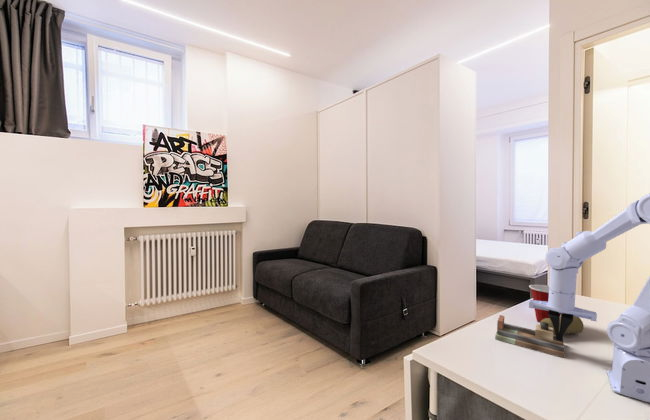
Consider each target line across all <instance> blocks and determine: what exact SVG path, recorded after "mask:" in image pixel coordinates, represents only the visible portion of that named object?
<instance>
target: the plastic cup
mask: <svg viewBox="0 0 650 420" xmlns="http://www.w3.org/2000/svg"><path fill="white" fill-rule="evenodd" d="M528 287H529V289H530V291H531V295H532V300H536V301H546V302H548V299H549V285H545V284H529V285H528ZM533 309H534V313H535V319H536V321H537V323H539V324H540V322H541V320H543V319H545V318H549V315H548V314H549V311H546V310H541V309H536V308H533ZM560 316H561V313H560Z"/></svg>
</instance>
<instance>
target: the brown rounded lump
mask: <svg viewBox="0 0 650 420" xmlns="http://www.w3.org/2000/svg"><path fill="white" fill-rule="evenodd" d="M541 322H546V323H548V324H549V327H551V328H553V335H556V334H555V330H554V327H553V324H552V322H551V320H550V318H545V319H543V320H541ZM541 322H540V323H539V325H541ZM560 325H561V316H560V321H559V332H560ZM584 327H585V325H584V323H583V321H582V318H580V317H576V316H573V322H572V323H571V324H570V325H569V327H568V328H567V330H566V331H565V333H564V335H565V334H581V333H582V332H583V331H584Z"/></svg>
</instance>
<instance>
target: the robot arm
mask: <svg viewBox="0 0 650 420" xmlns="http://www.w3.org/2000/svg"><path fill="white" fill-rule="evenodd" d="M644 224H645V225H646V224H649V225H650V192H649V193H647V194H644V196H642V197H641V198H640V199H637V200H635V201H632V202H631V203H630V204H629V205H628V206H627V207H626V208H625V209H623V210H622V211H620V212H619V213H618V214H616V215H615V216H614V217H612V218H611V219H610V220H608V221H606V222H605V223H603V224H602V225H601V226H599V227H598V228H596V229H595V230H593V231H592V230H584V231H577V232H576V233H575V236H574V237H573V238H572V239H570V240H569V241H567V242H566V241H565V242H562V243H561V244H560V245H561V246H560V247H551V248H549V250H547V252H546V253H545V261H546V263H547V265H548V266H549V281H548V283H549V285H548V286H549V299H548V302H546V301H536V300H533V299H528V308H529V309H534V308H536V309H541V310H546V311H549V314H548V315H549V318H550V320H551V322H552V324H553V327H554V330H555V334H556V339H557V340H561V341H562V339H563V337H564V335H565V334H566V333H565V331H566V330H567V328H568V327H569V325H570V324H571V323H572V322H573V316H576V317H579V318H580V319H587V320H590V321H592V322H597V317H598V315H597V312H596V311H592V310H588V309H584V308H579V307H577V306H575V305H576V293H577V292H576V290H577V277H578V276H577V275H578V273H579V269H580V268H581V267H582V266H583V264H584V262H585V261H587V260H588V259H590V258H592V257H594V256H595V255H597V254H599V253H601V252H602V251H605V249H607V242H609V241H611V240H613V239H615V238H617V237H619V236H620V235H622V234H623V235H624V234H625V233H627V232H629V231H630V230H632V229H635V228H636V227H638V226H641V225H644ZM560 313H561V325H560V332H559V321H560ZM564 333H565V334H564ZM606 333H607V336H608V338H609V340H611V342H612V345H613V350H612V351H613V352H612V366H611V370H609V369H607V370H606V373H607V377H608V380H609V383H610V386H611V390H612V392H614V393H617V394H619V395H623V396H627V397H629V398H633V399H636V400H640V401H641V402H642V401H643V402H646V403H650V275H649V276H648V279H647V280H646V281H645V283H644V285H643V287H642V288H641V290H640V292H639V294H638V296H637V298H636V299H635V301H634V302H633V304H632V305H631V306H630V307H628V308H627V309H625V310H624V311H623V312H621V313H620V315H619V316H618V318H617V319H615V320H611V322H609V323H608V325H607V327H606Z"/></svg>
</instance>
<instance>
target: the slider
mask: <svg viewBox="0 0 650 420" xmlns="http://www.w3.org/2000/svg"><path fill="white" fill-rule="evenodd" d="M534 330H535V339H538V340H542V341H546V342H550V343H553V328H551V327H549V324H548V323H546V322H541V325H540V324H538V323H536V324H535V329H534Z"/></svg>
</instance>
